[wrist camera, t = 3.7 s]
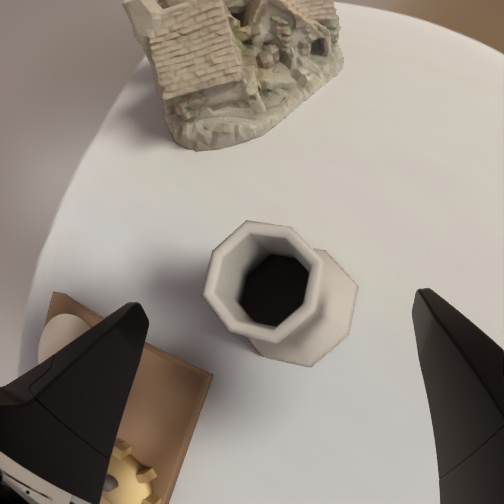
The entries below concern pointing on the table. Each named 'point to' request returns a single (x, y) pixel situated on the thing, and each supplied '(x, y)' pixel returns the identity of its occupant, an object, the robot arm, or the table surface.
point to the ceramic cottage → (235, 62)
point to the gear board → (138, 412)
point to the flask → (280, 293)
